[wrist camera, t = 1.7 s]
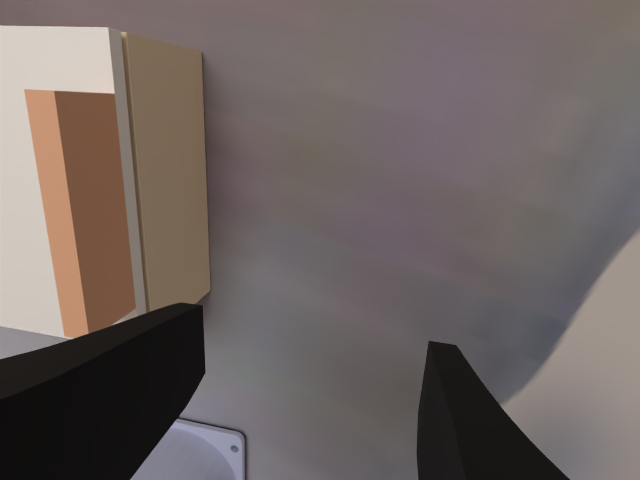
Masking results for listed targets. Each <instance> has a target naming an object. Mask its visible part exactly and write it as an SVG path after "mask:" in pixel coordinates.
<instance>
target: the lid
mask: <svg viewBox="0 0 640 480" xmlns="http://www.w3.org/2000/svg"><path fill="white" fill-rule="evenodd" d="M145 313H146V303H145V292H144V282H143V271H142V260H141V249H140V238H139V227H138V216H137V205H136V194H135V183H134V172H133V161H132V151H131V140H130V129H129V118H128V107H127V96H126V85H125V74H124V63H123V52H122V41H121V31H120V30H116V29H112V28H108V27H46V26H0V326H3V327H9V328H14V329H20V330H25V331H30V332H36V333H41V334H47V335H52V336H57V337H63V338H68V339H74V338H77V337H80V336H83V335H86V334H89V333H92V332H95V331H98V330H101V329H104V328H107V327H109V326H112V325H115V324H118V323H120V322H123V321H126V320H129V319H131V318H134V317H137V316H140V315H142V314H145Z"/></svg>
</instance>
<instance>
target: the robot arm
mask: <svg viewBox="0 0 640 480" xmlns="http://www.w3.org/2000/svg"><path fill="white" fill-rule="evenodd" d="M204 374H205V351H204V328H203V306H202V305H196V304H189V303H183V302H180V303H176V304H172V305H169V306H166V307H162V308H159V309H156V310H154V311H151V312H148V313H145V314H142V315H140V316H137V317H134V318H131V319H129V320H126V321H123V322H120V323H118V324H115V325H112V326H109V327H107V328H104V329H101V330H98V331H95V332H92V333H89V334H86V335H83V336H80V337H77V338H74V339H71V340H68V341H65V342H62V343H59V344H55V345H52V346H49V347H45V348H42V349H38V350H35V351H31V352H27V353H23V354H19V355H16V356H12V357H8V358H4V359H0V480H245V440H244V437H243V435H242V434H241V433H240V432H237V431H232V430H228V429H223V428H218V427H214V426H209V425H204V424H200V423H195V422H191V421H186V420H181V419H177V418H178V417H179V415H180V414H181V413H182V411H183V410H184V409H185V407H186V406H187V404H188V403H189V401H190V399H191V398H192V396H193V394H194V392H195V391H196V389H197V387H198V385H199V383H200V382H201V380H202V378H203V376H204ZM234 445H235V446H237V447H238V448H237V447H235V446H234ZM417 465H418V478H419V480H570V479H569V478H567V476H565V475H564V474H563V473H562V472H561V471H560V470H559V469H558V468H557V467H556V466H555V465H554V464H553V463H552V462H551V461H550V460H549V459H548V458H547V457H546V456H545V455H544V454H543V453H542V452H541V451H540V450H539V449H538V448H537V447H536V446H535V445H534V444H533V443H532V442H531V441H530V440H529V439H528V438H527V436H526V435H525V434H524V433H523V432H522V431H521V430H520V429H519V427H518V426H517V425H516V424H515V423H514V422H513V421H512V420H511V418H510V417H509V416H508V415H507V414H506V413H505V411H504V410H503V409H502V408H501V406H500V405H499V404H498V402H497V401H496V400H495V399H494V397H493V396H492V395H491V393H490V392H489V391H488V390H487V388H486V387H485V385H484V384H483V383H482V381H481V380H480V379H479V377H478V376H477V374H476V373H475V372H474V370H473V369H472V367H471V366H470V364H469V363H468V361H467V360H466V358H465V357H464V356H463V354H462V353H461V351H460V350H459V348H458V347H457V346H456V345H452V344H446V343H439V342H433V341H429V343H428V350H427V357H426V364H425V370H424V377H423V384H422V391H421V397H420V404H419V411H418V431H417Z"/></svg>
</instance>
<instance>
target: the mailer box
mask: <svg viewBox="0 0 640 480" xmlns="http://www.w3.org/2000/svg"><path fill="white" fill-rule="evenodd" d="M121 41H122V52H123V63H124V74H125V85H126V96H127V107H128V118H129V129H130V140H131V151H132V161H133V172H134V183H135V194H136V205H137V216H138V227H139V238H140V249H141V260H142V271H143V282H144V292H145V303H146V313H148V312H151V311H154V310H156V309H159V308H162V307H166V306H169V305H172V304H176V303H180V302H183V303H189V304H196V303H197V302H198V301H199V300H200V299H201V298H202V297H204V296H205V295H206V294H207V293H208V292H209V291H210V290H211V288H210V262H209V235H208V208H207V181H206V154H205V127H204V100H203V73H202V52H200V51H196V50H193V49H189V48H185V47H181V46H177V45H173V44H170V43H166V42H162V41H158V40H154V39H150V38H147V37H143V36H139V35H135V34H131V33H127V32H121Z"/></svg>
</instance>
